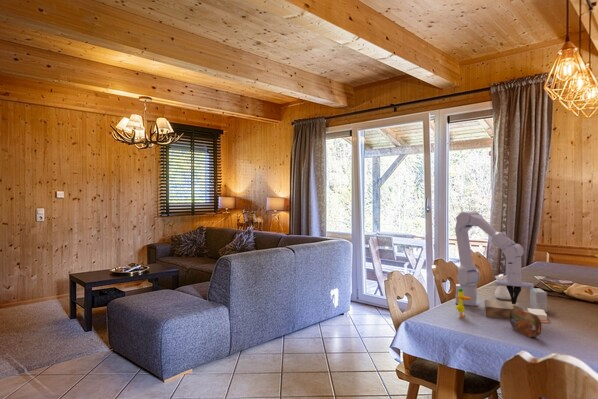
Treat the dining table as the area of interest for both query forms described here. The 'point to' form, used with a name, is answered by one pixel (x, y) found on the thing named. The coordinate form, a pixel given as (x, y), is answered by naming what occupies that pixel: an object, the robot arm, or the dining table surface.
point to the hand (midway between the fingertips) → (513, 303)
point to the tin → (525, 322)
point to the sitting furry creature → (502, 289)
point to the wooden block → (500, 308)
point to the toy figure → (461, 302)
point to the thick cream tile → (538, 313)
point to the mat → (544, 321)
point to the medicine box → (538, 299)
